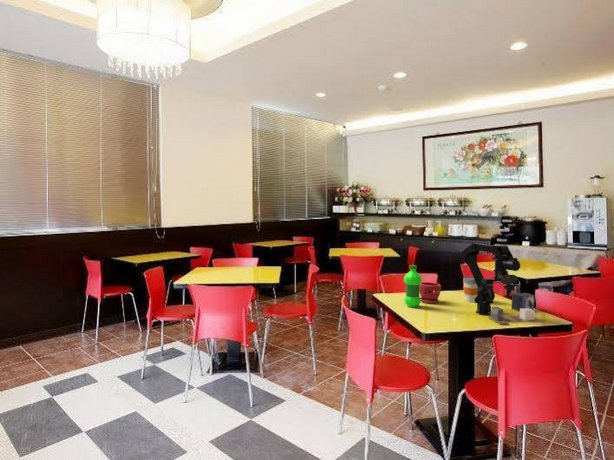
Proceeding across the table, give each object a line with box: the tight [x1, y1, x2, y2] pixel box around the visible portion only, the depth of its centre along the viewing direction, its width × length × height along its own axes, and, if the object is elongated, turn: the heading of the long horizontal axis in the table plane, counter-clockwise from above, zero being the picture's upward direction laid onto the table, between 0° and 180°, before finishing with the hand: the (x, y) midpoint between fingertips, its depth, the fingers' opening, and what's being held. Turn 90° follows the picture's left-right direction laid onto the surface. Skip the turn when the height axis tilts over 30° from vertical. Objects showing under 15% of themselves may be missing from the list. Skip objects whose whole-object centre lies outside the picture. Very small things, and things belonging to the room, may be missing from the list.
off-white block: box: [519, 308, 535, 320], centre depth 216 cm, size 5×5×5 cm
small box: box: [511, 292, 535, 313], centre depth 236 cm, size 11×6×10 cm, turn 105°
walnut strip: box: [487, 306, 545, 325], centre depth 216 cm, size 24×12×7 cm, turn 94°
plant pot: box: [419, 281, 442, 304], centre depth 259 cm, size 13×13×12 cm
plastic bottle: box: [403, 264, 423, 308], centre depth 247 cm, size 10×10×25 cm
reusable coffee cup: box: [462, 276, 478, 304], centre depth 262 cm, size 13×13×15 cm
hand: (499, 297), depth 220 cm, fingers open, 9 cm apart
